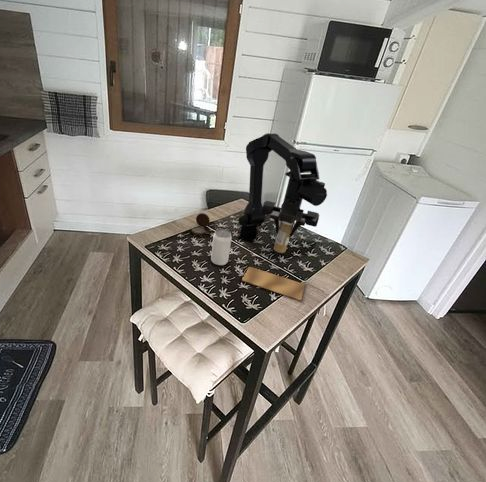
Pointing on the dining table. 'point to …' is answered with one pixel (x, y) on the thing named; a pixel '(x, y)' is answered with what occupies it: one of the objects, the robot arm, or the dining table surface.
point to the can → (221, 247)
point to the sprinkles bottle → (283, 236)
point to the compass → (201, 224)
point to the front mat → (274, 283)
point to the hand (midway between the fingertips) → (283, 235)
